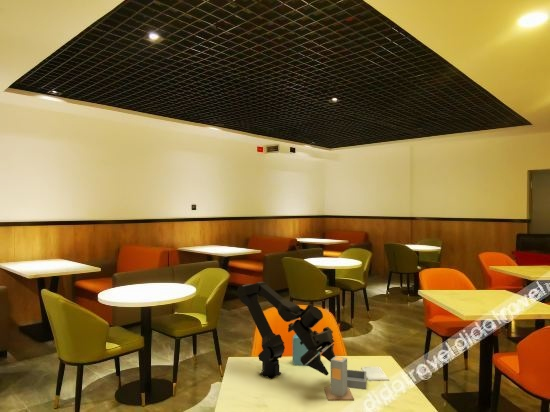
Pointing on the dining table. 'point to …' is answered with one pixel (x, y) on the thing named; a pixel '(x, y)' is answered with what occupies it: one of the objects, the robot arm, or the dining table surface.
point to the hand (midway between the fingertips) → (332, 370)
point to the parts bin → (356, 379)
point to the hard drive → (375, 374)
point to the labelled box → (339, 376)
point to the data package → (299, 351)
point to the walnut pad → (333, 397)
